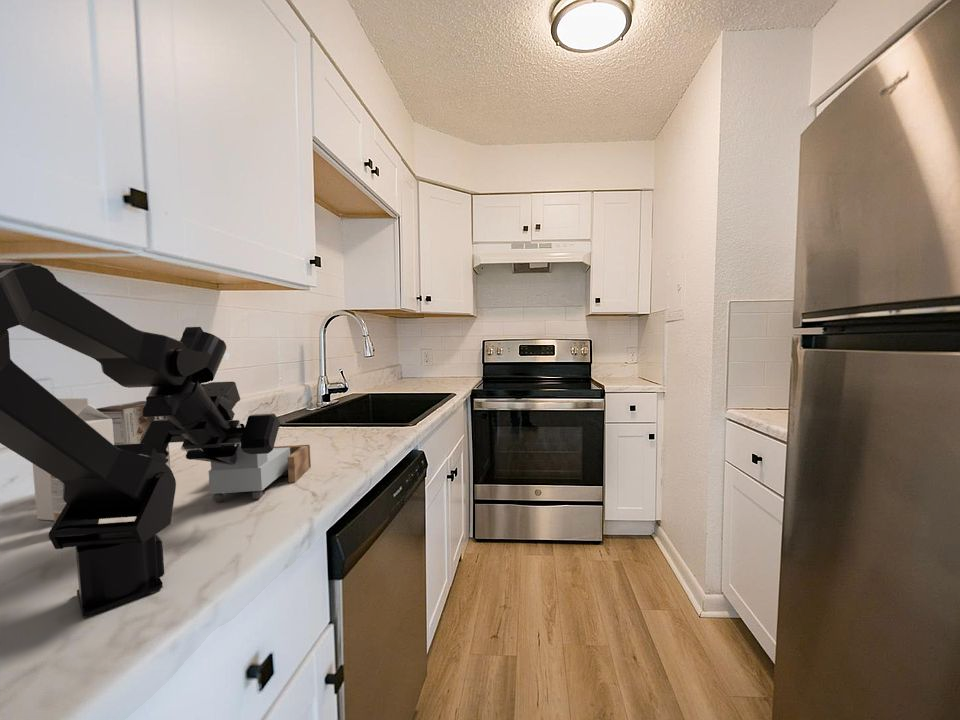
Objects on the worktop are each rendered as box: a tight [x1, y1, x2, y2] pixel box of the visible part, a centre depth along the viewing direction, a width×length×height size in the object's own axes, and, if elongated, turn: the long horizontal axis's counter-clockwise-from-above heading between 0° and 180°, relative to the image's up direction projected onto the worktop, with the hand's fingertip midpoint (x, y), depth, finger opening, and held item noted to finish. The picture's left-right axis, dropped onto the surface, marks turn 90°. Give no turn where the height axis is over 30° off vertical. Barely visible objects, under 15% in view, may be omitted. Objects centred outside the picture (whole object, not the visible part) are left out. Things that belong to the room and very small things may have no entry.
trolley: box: [208, 443, 290, 503], centre depth 78 cm, size 15×8×10 cm, turn 5°
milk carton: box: [32, 397, 114, 521], centre depth 69 cm, size 7×7×19 cm
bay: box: [274, 444, 312, 484], centre depth 84 cm, size 10×14×5 cm
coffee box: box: [96, 400, 171, 469], centre depth 82 cm, size 9×6×16 cm
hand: (233, 462), depth 71 cm, fingers closed, pressing on trolley
